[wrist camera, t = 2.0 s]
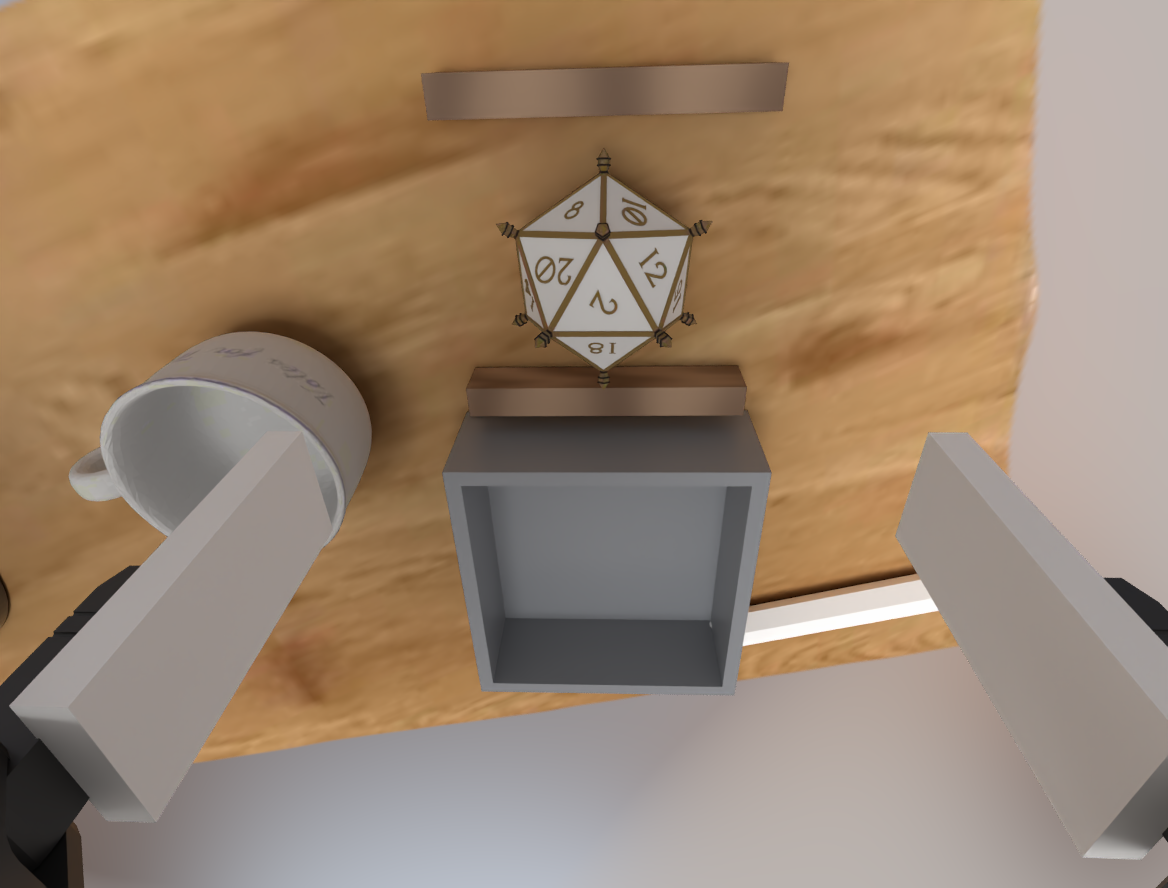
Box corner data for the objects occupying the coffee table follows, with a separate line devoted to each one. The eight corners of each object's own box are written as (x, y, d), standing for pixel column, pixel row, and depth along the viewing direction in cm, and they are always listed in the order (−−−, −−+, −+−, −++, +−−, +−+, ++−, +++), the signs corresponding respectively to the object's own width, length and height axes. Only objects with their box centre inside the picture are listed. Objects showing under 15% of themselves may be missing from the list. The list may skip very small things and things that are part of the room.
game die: (583, 264, 34) (466, 378, 29) (577, 101, 27) (422, 214, 22) (734, 322, 30) (631, 461, 25) (770, 154, 24) (639, 300, 19)
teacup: (382, 320, 32) (320, 390, 25) (401, 488, 38) (354, 582, 31) (114, 297, 32) (-22, 362, 25) (173, 469, 37) (77, 560, 31)
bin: (496, 617, 43) (481, 691, 38) (467, 411, 34) (442, 472, 29) (719, 619, 43) (734, 695, 37) (747, 410, 34) (771, 472, 29)
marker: (680, 615, 43) (921, 569, 40) (687, 644, 43) (928, 600, 40) (678, 628, 41) (935, 581, 37) (686, 659, 41) (944, 614, 37)
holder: (479, 394, 34) (469, 416, 32) (436, 72, 26) (421, 73, 24) (734, 392, 33) (743, 415, 31) (773, 62, 25) (788, 62, 23)
